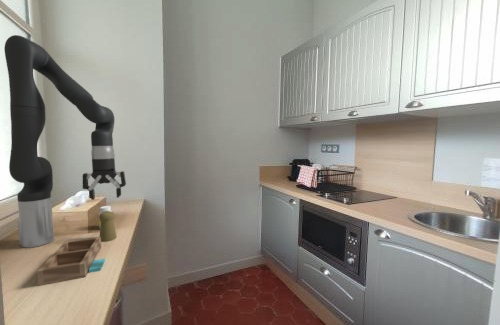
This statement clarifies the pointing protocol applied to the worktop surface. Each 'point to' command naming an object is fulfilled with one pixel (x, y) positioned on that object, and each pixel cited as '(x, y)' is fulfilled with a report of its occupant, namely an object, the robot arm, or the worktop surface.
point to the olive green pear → (107, 226)
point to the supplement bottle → (104, 209)
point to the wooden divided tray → (71, 261)
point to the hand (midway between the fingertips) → (105, 198)
